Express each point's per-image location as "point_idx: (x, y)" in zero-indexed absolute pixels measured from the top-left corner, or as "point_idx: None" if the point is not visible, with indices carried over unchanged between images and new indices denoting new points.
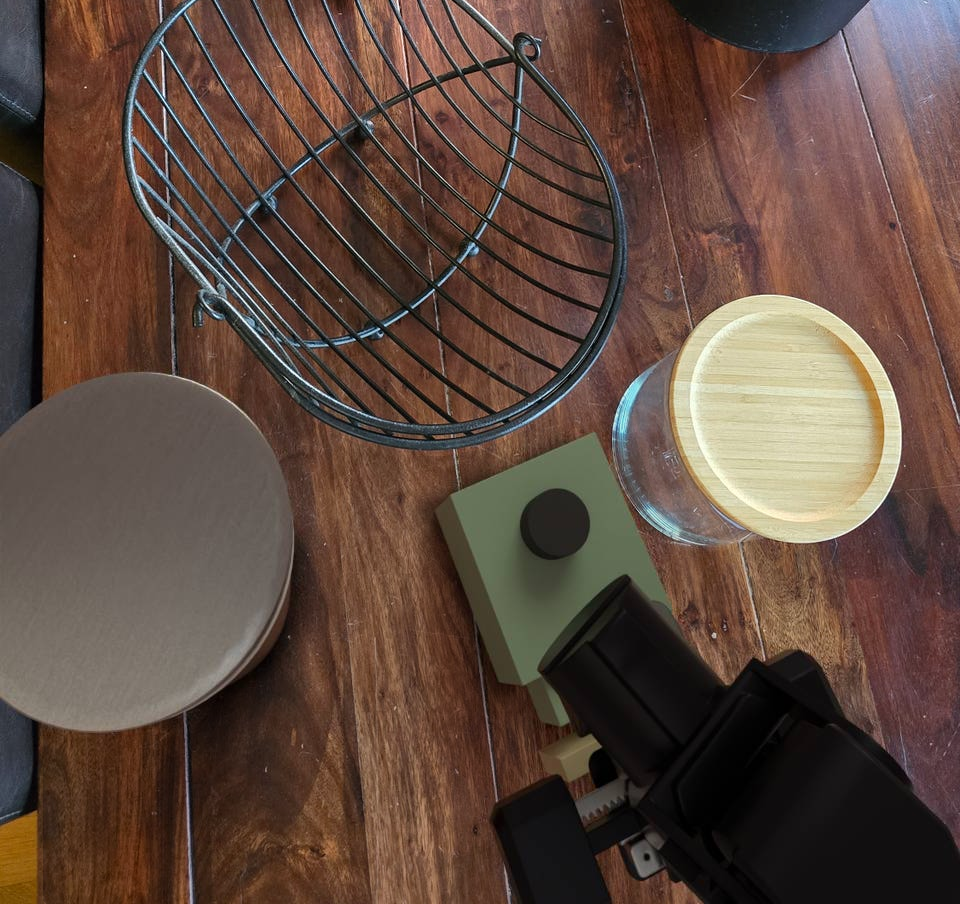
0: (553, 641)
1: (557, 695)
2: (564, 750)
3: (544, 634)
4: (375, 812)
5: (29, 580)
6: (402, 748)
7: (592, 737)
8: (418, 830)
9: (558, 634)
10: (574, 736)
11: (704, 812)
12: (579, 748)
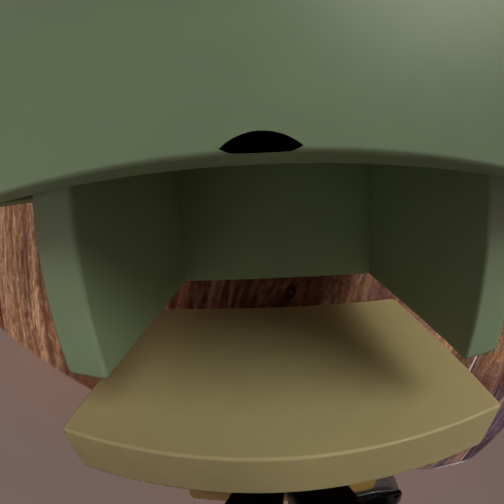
0: (42, 54)
1: (66, 287)
2: (124, 383)
3: (31, 28)
4: (4, 276)
5: None
6: (24, 229)
7: (192, 404)
8: (32, 311)
9: (78, 23)
10: (204, 331)
11: None
12: (117, 439)
